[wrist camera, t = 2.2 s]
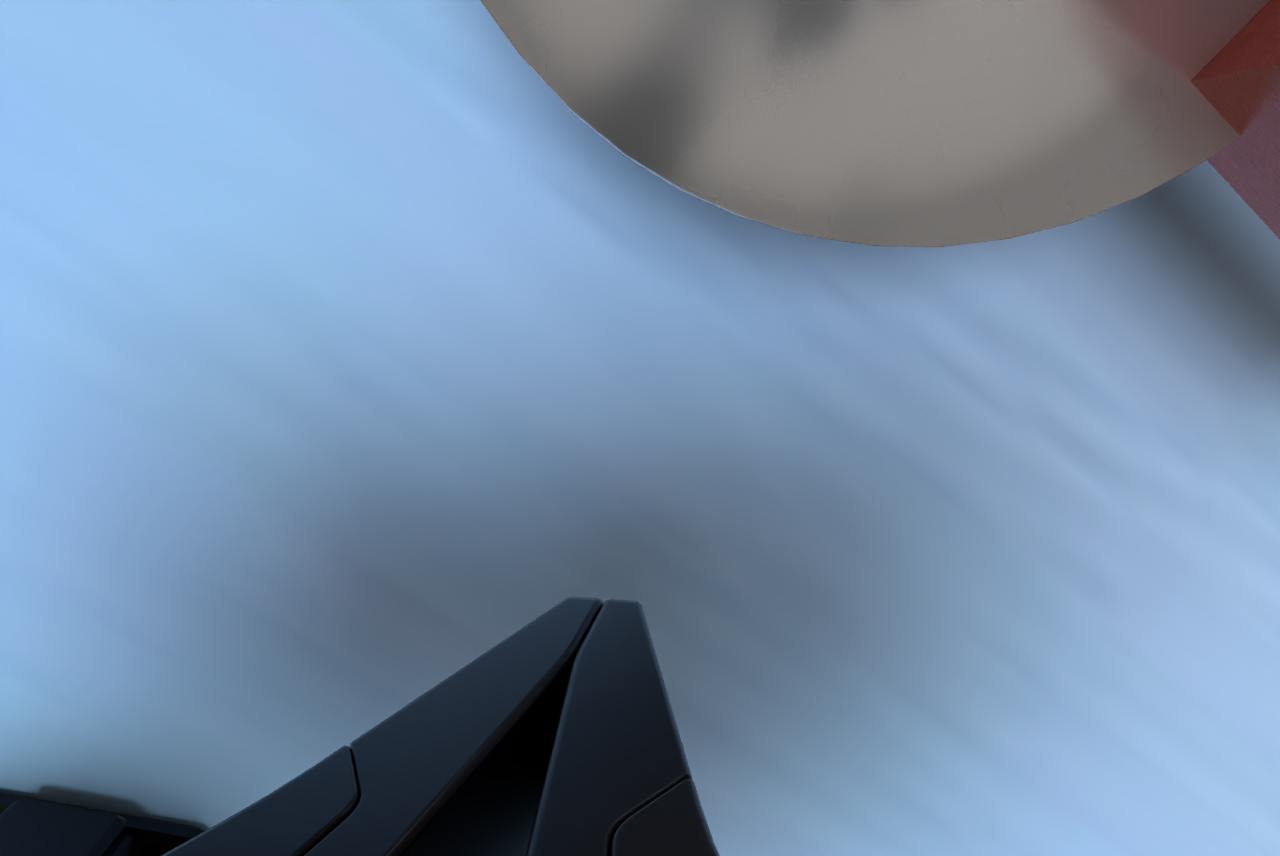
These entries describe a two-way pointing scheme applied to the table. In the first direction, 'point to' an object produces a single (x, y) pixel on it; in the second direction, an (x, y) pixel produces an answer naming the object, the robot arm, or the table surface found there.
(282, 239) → the table surface
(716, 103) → the lid
